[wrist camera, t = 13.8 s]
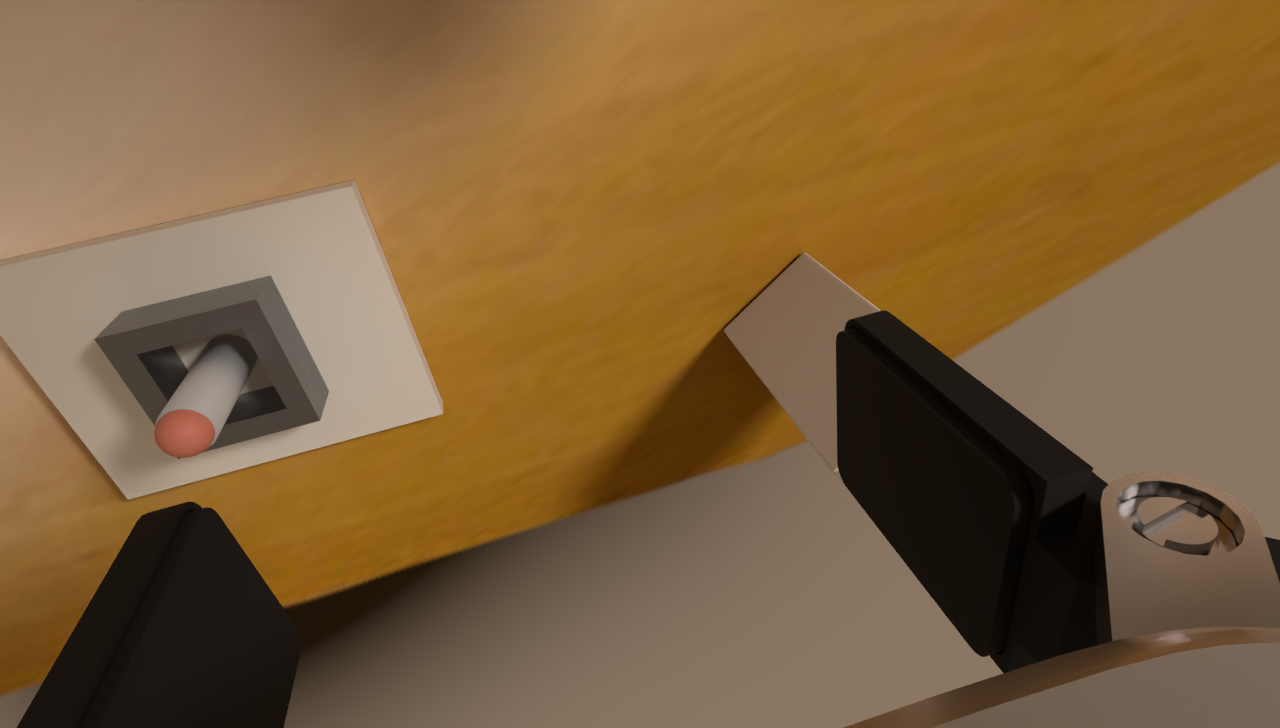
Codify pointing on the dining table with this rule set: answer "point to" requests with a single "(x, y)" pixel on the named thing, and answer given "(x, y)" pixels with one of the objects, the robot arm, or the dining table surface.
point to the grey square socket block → (254, 306)
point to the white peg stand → (223, 363)
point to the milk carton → (800, 346)
